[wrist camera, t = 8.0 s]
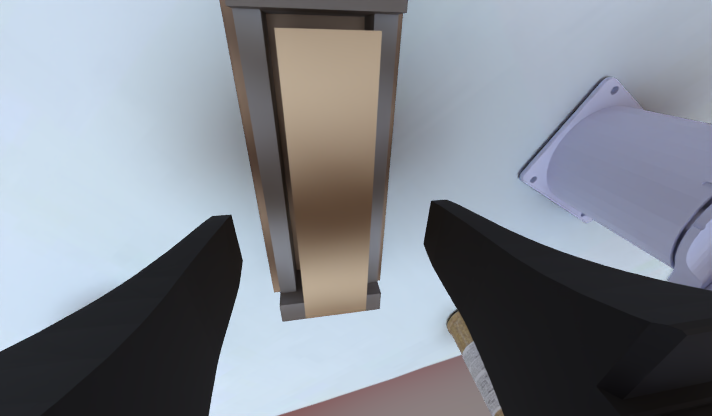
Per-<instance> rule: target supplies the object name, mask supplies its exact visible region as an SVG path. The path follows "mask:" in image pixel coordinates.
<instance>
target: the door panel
mask: <svg viewBox="0 0 712 416" xmlns="http://www.w3.org/2000/svg"><path fill="white" fill-rule="evenodd" d="M274 30H275V39H276V48H277V57H278V67H279V76H280V85H281V94H282V103H283V113H284V122H285V131H286V140H287V149H288V159H289V168H290V177H291V186H292V195H293V205H294V214H295V223H296V232H297V241H298V251H299V260H300V269H301V278H302V287H303V296H304V306H305V315H306V318H314V317H321V316H329V315H337V314H344V313H352V312H360V311H366V299H367V282H368V264H369V247H370V230H371V213H372V195H373V178H374V161H375V144H376V126H377V109H378V92H379V75H380V57H381V40H382V31H367V30H333V29H300V28H274Z"/></svg>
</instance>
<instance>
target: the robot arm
mask: <svg viewBox="0 0 712 416" xmlns="http://www.w3.org/2000/svg"><path fill="white" fill-rule="evenodd" d="M612 88H613V89H612ZM611 90H612V91H611ZM532 177H533V178H532ZM531 178H532V179H531ZM530 179H531V180H530ZM520 180H521V181H523V182H524V183H526V184H527V185H529V186H530V187H532V188H533V189H535V190H536V191H538V192H539V193H541V194H542V195H544V196H545V197H547V198H548V199H550V200H552V201H553V202H555V203H556V204H558V205H559V206H561V207H562V208H564V209H565V210H567V211H568V212H570V213H571V214H573V215H574V216H576V217H577V218H579V219H580V220H582V221H583V222H585V223H588V222H591V221H592V220H595V221H596V222H598V223H600V224H601V225H603V226H604V227H606V228H608V229H609V230H611V231H613V232H614V233H616V234H617V235H619V236H621V237H622V238H624V239H626V240H627V241H629V242H630V243H632V244H634V245H635V246H637V247H639V248H640V249H642V250H643V251H645V252H647V253H648V254H650V255H652V256H653V257H655V258H656V259H658V260H660V261H661V262H663V263H665V264H666V265H668V266H669V267H671V268H673V269H674V270H673V271H672V273H671V275H670V276H669V277H668V279H667V280H668V281H669V282H667V281H662V280H658V279H654V278H650V277H646V276H642V275H638V274H634V273H630V272H626V271H622V270H619V269H615V268H611V267H608V266H604V265H601V264H598V263H595V262H591V261H588V260H585V259H582V258H578V257H575V256H573V255H570V254H567V253H564V252H561V251H558V250H556V249H553V248H550V247H548V246H545V245H543V244H540V243H537V242H535V241H533V240H530V239H528V238H526V237H523V236H521V235H519V234H517V233H515V232H512V231H510V230H508V229H506V228H504V227H502V226H500V225H498V224H496V223H494V222H492V221H490V220H488V219H486V218H484V217H482V216H480V215H478V214H476V213H474V212H472V211H470V210H468V209H466V208H464V207H462V206H460V205H458V204H456V203H453V202H451V201H448V200H435V201H431V205H430V210H429V216H428V221H427V227H426V233H425V238H424V246H425V249H426V252H427V254H428V257H429V259H430V262H431V264H432V266H433V268H434V270H435V272H436V273H437V275H438V277H439V279H440V280H441V282H442V284H443V286H444V287H445V289H446V291H447V292H448V294H449V296H450V297H451V299H452V301H453V303H454V304H455V306H456V308H457V309H458V311H459V313H460V315H461V316H462V318H463V320H464V322H465V324H466V326H467V328H468V330H469V332H470V335H471V337H472V339H473V341H474V343H475V346H476V348H477V350H478V352H479V355H480V357H481V359H482V362H483V364H484V367H485V369H486V371H487V374H488V376H489V378H490V381H491V383H492V386H493V389H494V391H495V394H496V396H497V399H498V401H499V404H500V407H501V409H502V412H503V414H504V416H712V124H709V123H704V122H700V121H695V120H690V119H685V118H680V117H675V116H671V115H666V114H661V113H656V112H651V111H646V110H644V109H643V108H642V107H641V106H640V105H639V103H638V102H637V101H636V100H635V99H634V98H633V97H632V95H631V94H630V93H629V92H628V91H627V90H626V89H625V87H624V86H623V85H622V84H621V83H620V82H619V81H618V79H616V78H614V77H607V78H605V79H604V80H603V81H602V82H601V83H600V84H599V85H598V86H597V87H596V88H595V90H594V91H593V92H592V93H591V94H590V95H589V96H588V98H587V99H586V100H585V101H584V102H583V103H582V104H581V105H580V107H579V108H578V109H577V110H576V111H575V112H574V113H573V115H572V116H571V117H570V118H569V119H568V120H567V121H566V123H565V124H564V125H563V126H562V127H561V128H560V129H559V130H558V132H557V133H556V134H555V135H554V136H553V137H552V138H551V140H550V141H549V142H548V143H547V144H546V145H545V146H544V148H543V149H542V150H541V151H540V152H539V153H538V154H537V155H536V157H535V158H534V159H533V160H532V161H531V162H530V163H529V165H528V166H527V167H526V168H525V169H524V170H523V171H522V173H521V174H520ZM242 262H243V260H242V256H241V252H240V248H239V244H238V240H237V236H236V232H235V228H234V224H233V220H232V216H231V215H221V216H212V217H210V218H209V219H207V220H206V221H205V222H204V223H202V224H201V225H200V226H199V227H197V228H196V229H195V230H194V231H192V232H191V233H190V234H189V235H187V236H186V237H185V238H184V239H182V240H181V241H180V242H179V243H177V244H176V245H175V246H174V247H172V248H171V249H170V250H169V251H167V252H166V253H165V254H163V255H162V256H161V257H159V258H158V259H157V260H155V261H154V262H152V263H151V264H150V265H148V266H147V267H146V268H144V269H143V270H142V271H140V272H139V273H138V274H136V275H135V276H133V277H132V278H130V279H129V280H127V281H126V282H124V283H123V284H121V285H120V286H118V287H116V288H115V289H113V290H112V291H110V292H108V293H107V294H105V295H104V296H102V297H100V298H99V299H97V300H96V301H94V302H92V303H91V304H89V305H87V306H85V307H83V308H82V309H80V310H78V311H76V312H74V313H73V314H71V315H69V316H67V317H65V318H64V319H62V320H60V321H58V322H56V323H55V324H53V325H51V326H49V327H47V328H46V329H44V330H42V331H40V332H38V333H36V334H34V335H32V336H30V337H28V338H26V339H25V340H23V341H21V342H19V343H17V344H15V345H13V346H11V347H9V348H7V349H5V350H3V351H1V352H0V416H209V409H210V403H211V397H212V392H213V386H214V381H215V375H216V370H217V364H218V360H219V356H220V352H221V348H222V344H223V341H224V337H225V334H226V330H227V327H228V324H229V320H230V317H231V313H232V310H233V306H234V303H235V299H236V296H237V292H238V289H239V284H240V277H241V270H242Z"/></svg>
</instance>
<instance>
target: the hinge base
mask: <svg viewBox="0 0 712 416" xmlns="http://www.w3.org/2000/svg"><path fill="white" fill-rule="evenodd" d="M407 4H408V0H220V6H221V11H222V16H223V22H224V27H225V32H226V38H227V43H228V48H229V54H230V59H231V65H232V70H233V75H234V81H235V86H236V91H237V97H238V102H239V107H240V113H241V118H242V123H243V129H244V134H245V139H246V145H247V150H248V155H249V161H250V166H251V171H252V177H253V182H254V187H255V193H256V198H257V203H258V209H259V214H260V219H261V225H262V230H263V235H264V241H265V246H266V251H267V257H268V262H269V267H270V273H271V278H272V283H273V289H274V292H280V293H281V294H280V311H281V316H282V322H284V321H291V320H299V319H306V315H305V306H304V296H303V287H302V278H301V269H300V260H299V251H298V241H297V232H296V223H295V214H294V205H293V195H292V186H291V177H290V168H289V159H288V149H287V140H286V131H285V122H284V113H283V103H282V94H281V85H280V76H279V67H278V57H277V48H276V39H275V30H274V28H300V29H333V30H367V31H382V40H381V57H380V75H379V92H378V109H377V126H376V144H375V161H374V178H373V195H372V213H371V230H370V247H369V264H368V282H367V299H366V311H368V310H375V309H380V298H381V292H380V289H379V286H378V283H377V280H380V273H381V261H382V249H383V238H384V226H385V215H386V203H387V191H388V180H389V168H390V157H391V145H392V133H393V122H394V110H395V99H396V87H397V76H398V64H399V52H400V41H401V29H402V18H403V13H407ZM344 314H345V313H344ZM321 317H322V316H321Z"/></svg>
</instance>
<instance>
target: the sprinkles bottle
mask: <svg viewBox="0 0 712 416" xmlns="http://www.w3.org/2000/svg"><path fill="white" fill-rule="evenodd" d="M447 328H448V331H449V333H450V334H451V335H452V336H453V338H454V340H455V342H456V344H457V346H458V348H459V350H460V352H461V354H462V357H463V359H464V361H465V363H466V365H467V367H468V369H469V371H470V373H471V375H472V377H473V379H474V381H475V383H476V385H477V387H478V389H479V391H480V393H481V395H482V397H483V399H484V401H485V403H486V405H487V407H488V409H489V411H490V413H491V415H492V416H504V414H503V412H502V409H501V407H500V404H499V401H498V399H497V396H496V394H495V391H494V389H493V386H492V383H491V381H490V378H489V376H488V374H487V371H486V369H485V367H484V364H483V362H482V359H481V357H480V355H479V352H478V350H477V348H476V346H475V343H474V341H473V339H472V337H471V335H470V332H469V330H468V328H467V326H466V324H465V322H464V320H463V318H462V316H461V315H460V313H459V311H457V312H456V313H455V314H454V315H453V316H452V317H451V318H450V319H449V321H448V324H447Z"/></svg>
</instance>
